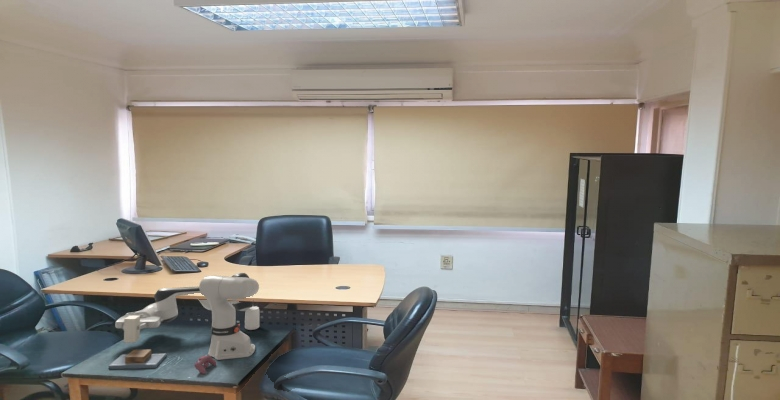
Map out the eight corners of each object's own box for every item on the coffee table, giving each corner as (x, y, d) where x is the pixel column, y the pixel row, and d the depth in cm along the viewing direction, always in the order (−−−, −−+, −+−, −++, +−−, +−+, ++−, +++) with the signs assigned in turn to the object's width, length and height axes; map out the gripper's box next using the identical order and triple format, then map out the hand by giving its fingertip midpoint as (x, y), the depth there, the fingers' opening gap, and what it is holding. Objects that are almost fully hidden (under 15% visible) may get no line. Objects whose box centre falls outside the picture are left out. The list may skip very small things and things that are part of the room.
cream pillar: (139, 338, 205) (139, 315, 205) (135, 342, 200) (135, 318, 200) (129, 338, 204) (129, 315, 204) (124, 342, 199) (124, 319, 199)
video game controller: (210, 367, 194) (204, 353, 194) (218, 364, 193) (212, 350, 193) (197, 377, 184) (191, 363, 184) (205, 374, 183) (199, 359, 183)
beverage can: (254, 331, 235) (254, 310, 234) (242, 329, 237) (242, 309, 236) (262, 326, 243) (262, 306, 242) (250, 324, 245) (250, 305, 244)
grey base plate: (166, 356, 200) (166, 347, 199) (155, 367, 188) (155, 358, 188) (122, 357, 197) (122, 348, 197) (108, 368, 185) (108, 359, 185)
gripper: (165, 324, 217) (153, 334, 203) (123, 324, 214) (109, 334, 200) (165, 312, 216) (153, 321, 203) (123, 312, 213) (109, 322, 200)
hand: (131, 328), depth 201 cm, fingers closed on cream pillar, 5 cm apart
